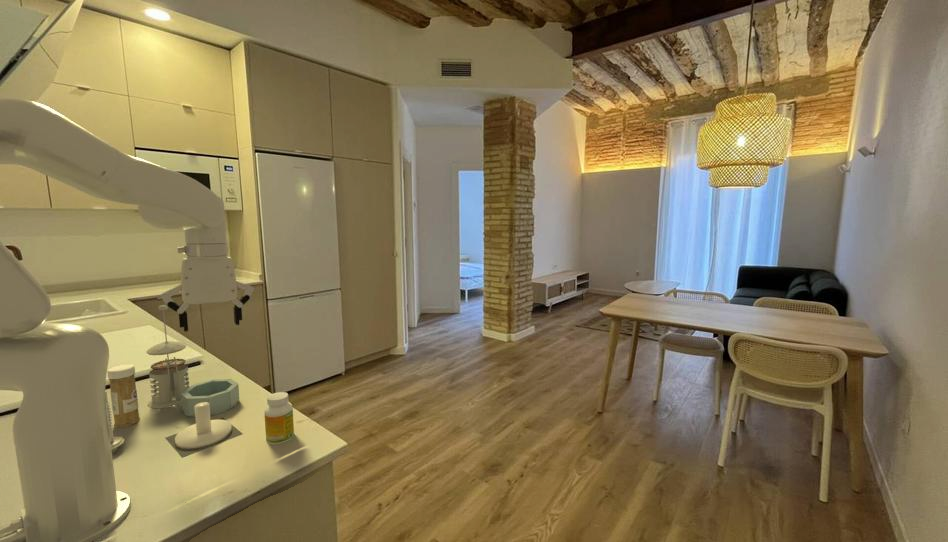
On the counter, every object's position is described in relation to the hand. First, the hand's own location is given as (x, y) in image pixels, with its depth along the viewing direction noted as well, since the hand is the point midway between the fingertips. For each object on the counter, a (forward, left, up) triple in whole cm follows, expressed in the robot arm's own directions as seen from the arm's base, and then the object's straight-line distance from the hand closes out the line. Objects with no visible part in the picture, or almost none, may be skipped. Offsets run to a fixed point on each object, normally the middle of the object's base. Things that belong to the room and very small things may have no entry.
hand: (212, 326), depth 89 cm
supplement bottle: (+5, -19, -23) cm, 30 cm away
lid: (-5, -6, -22) cm, 23 cm away
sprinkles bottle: (-14, +14, -23) cm, 30 cm away
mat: (-5, -6, -22) cm, 24 cm away
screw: (-19, +2, -23) cm, 30 cm away
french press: (-4, +20, -23) cm, 31 cm away
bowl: (+1, +8, -22) cm, 24 cm away
